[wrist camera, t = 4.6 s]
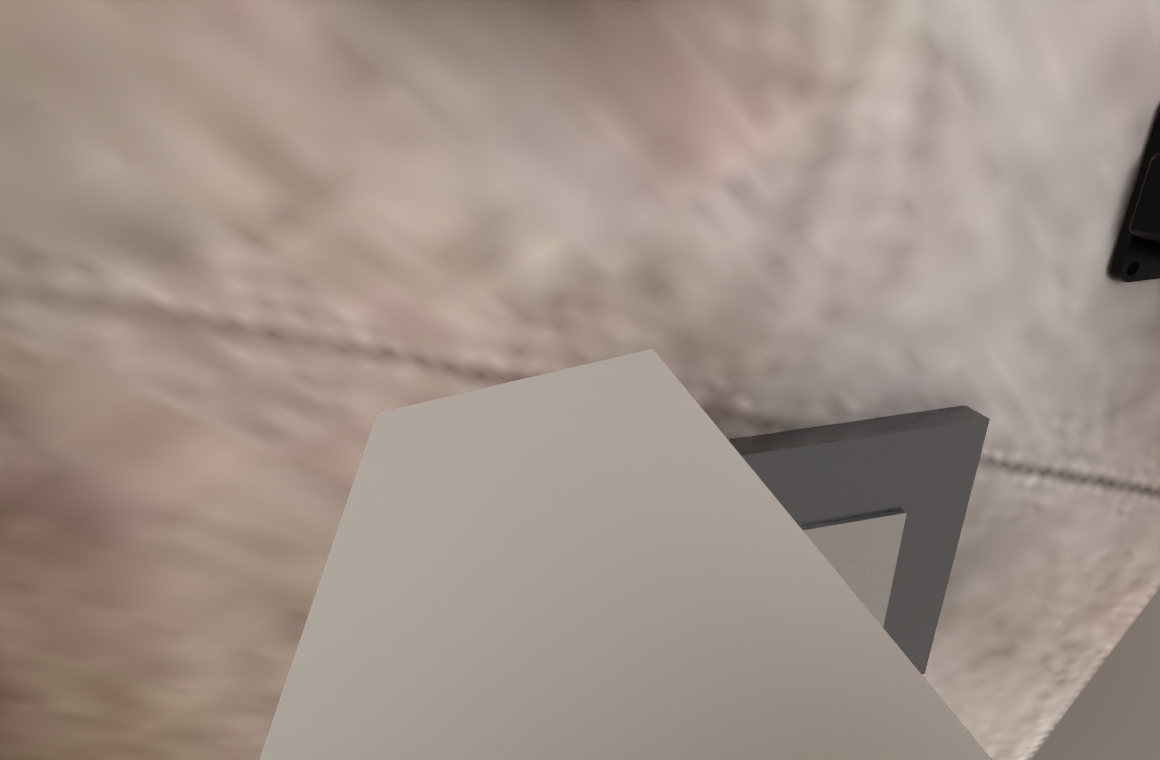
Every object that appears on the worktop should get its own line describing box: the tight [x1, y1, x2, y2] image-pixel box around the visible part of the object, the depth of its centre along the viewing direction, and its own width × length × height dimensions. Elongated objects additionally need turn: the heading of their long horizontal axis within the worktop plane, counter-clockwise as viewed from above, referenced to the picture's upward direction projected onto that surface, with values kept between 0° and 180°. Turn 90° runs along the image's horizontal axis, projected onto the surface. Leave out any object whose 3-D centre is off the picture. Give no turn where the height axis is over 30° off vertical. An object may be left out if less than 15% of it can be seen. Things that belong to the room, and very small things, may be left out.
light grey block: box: [259, 349, 992, 760], centre depth 8 cm, size 5×8×7 cm, turn 11°
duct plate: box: [729, 406, 989, 674], centre depth 25 cm, size 16×14×1 cm
